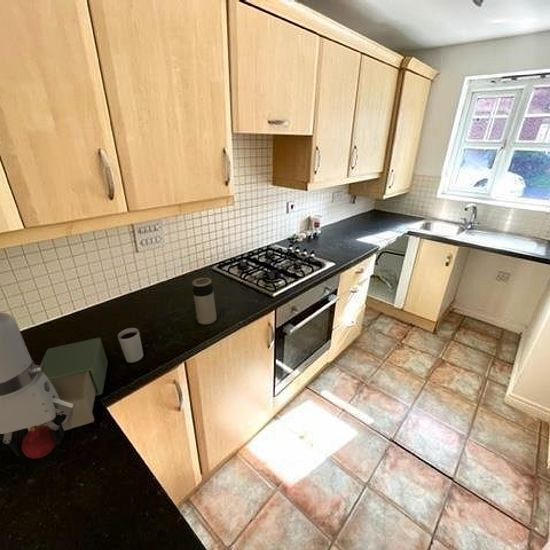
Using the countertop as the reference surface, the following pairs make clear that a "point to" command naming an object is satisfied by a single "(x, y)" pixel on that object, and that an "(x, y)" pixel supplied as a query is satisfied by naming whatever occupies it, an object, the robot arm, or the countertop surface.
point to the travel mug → (204, 301)
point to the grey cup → (131, 344)
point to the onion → (38, 442)
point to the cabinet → (77, 361)
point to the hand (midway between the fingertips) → (40, 444)
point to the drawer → (76, 398)
